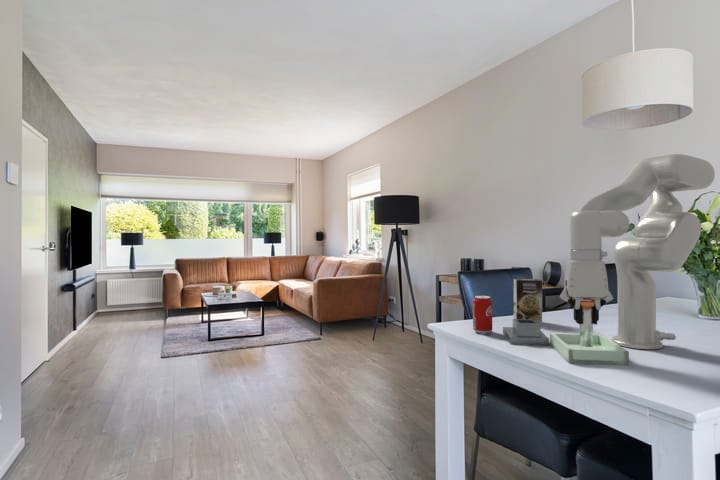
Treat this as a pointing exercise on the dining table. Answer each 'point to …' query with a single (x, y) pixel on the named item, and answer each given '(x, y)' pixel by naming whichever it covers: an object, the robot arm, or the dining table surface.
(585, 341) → the lock pin
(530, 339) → the bracket
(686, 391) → the dining table surface
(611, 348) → the tray
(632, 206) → the robot arm
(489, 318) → the beverage can
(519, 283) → the coffee box
